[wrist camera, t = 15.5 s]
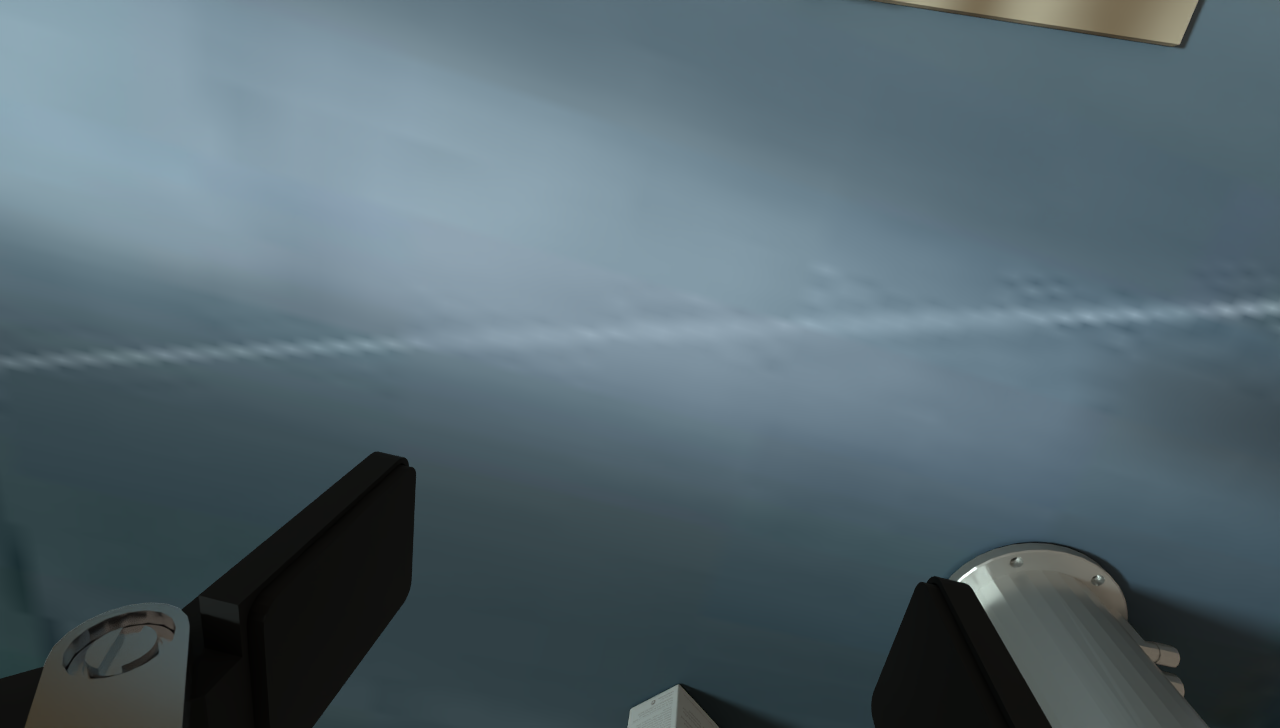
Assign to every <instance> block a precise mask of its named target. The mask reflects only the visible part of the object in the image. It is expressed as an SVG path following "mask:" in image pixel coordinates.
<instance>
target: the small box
mask: <svg viewBox="0 0 1280 728" xmlns="http://www.w3.org/2000/svg"><path fill="white" fill-rule="evenodd" d="M628 728H719V727H718V726H717V724H716V723H715V722H714V721H713V720H712V719H711V718H710V717H709V716H708V715H707V714H706V712H705V711H704V710H703V709H702V708H701V707H700V706H699V705H698V704H697V703H696V702H695V701H694V699H693V698H692V697H691V696H690V695H689V694H688V693H687V692H686V691H685V690H684V689H683V688H682V687H681V685H680V684H678V685H676V686H674V687H672V688H670V689H668V690H666V691H664V692H662V693H660V694H658V695H657V696H655V697H653V698H651V699H649V700H647V701H645V702H643V703H641V704H639V705H637V706H635V707H633V708H631V710H630V716H629V722H628Z"/></svg>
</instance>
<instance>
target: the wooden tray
mask: <svg viewBox="0 0 1280 728" xmlns="http://www.w3.org/2000/svg"><path fill="white" fill-rule="evenodd" d="M871 1H878V2H884V3H891V4H897V5H904V6H910V7H917V8H923V9H930V10H936V11H943V12H949V13H956V14H962V15H969V16H976V17H982V18H989V19H995V20H1002V21H1008V22H1015V23H1021V24H1028V25H1034V26H1041V27H1047V28H1054V29H1060V30H1067V31H1073V32H1080V33H1086V34H1093V35H1099V36H1106V37H1112V38H1119V39H1125V40H1132V41H1138V42H1145V43H1151V44H1158V45H1164V46H1171V47H1172V46H1176V45H1180V43H1181V40H1182V38H1183V36H1184V33H1185V31H1186V28H1187V26H1188V24H1189V21H1190V19H1191V17H1192V14H1193V12H1194V10H1195V7H1196V5H1197V3H1198V0H871Z"/></svg>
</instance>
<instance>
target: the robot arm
mask: <svg viewBox="0 0 1280 728" xmlns="http://www.w3.org/2000/svg"><path fill="white" fill-rule="evenodd" d="M415 485H416V471H415V469H414V468H413V467H409V463H408V461H407V459H406V458H404V457H400V456H395V455H391V454H386V453H382V452H374V453H372V454H370V455H369V456H368V457H367V458H366V459H364V460H363V461H362V462H361V463H359V464H358V465H357V466H356V467H355V468H353V469H352V470H351V471H350V472H348V473H347V474H346V475H345V476H344V477H342V478H341V479H340V480H339V481H337V482H336V483H335V484H334V485H333V486H331V487H330V488H329V489H328V490H327V491H325V492H324V493H323V494H322V495H320V496H319V497H318V498H317V499H316V500H314V501H313V502H312V503H311V504H309V505H308V506H307V507H306V508H305V509H303V510H302V511H301V512H300V513H298V514H297V515H296V516H295V517H294V518H292V519H291V520H290V521H289V522H288V523H286V524H285V525H284V526H283V527H281V528H280V529H279V530H278V531H277V532H275V533H274V534H273V535H272V536H270V537H269V538H268V539H267V540H266V541H264V542H263V543H262V544H261V545H259V546H258V547H257V548H256V549H255V550H253V551H252V552H251V553H250V554H249V555H247V556H246V557H245V558H244V559H242V560H241V561H240V562H239V563H238V564H236V565H235V566H234V567H233V568H231V569H230V570H229V571H228V572H227V573H225V574H224V575H223V576H222V577H220V578H219V579H218V580H217V581H216V582H214V583H213V584H212V585H211V586H210V587H208V588H207V589H206V590H205V591H203V592H202V593H201V594H200V595H199V596H198V597H196V598H195V599H194V600H193V601H192V602H190V603H189V604H188V605H187V606H185V607H184V608H183V609H182V610H181V609H180V608H177V607H174V606H171V605H169V604H163V603H142V604H134V605H128V606H124V607H121V608H117V609H114V610H110V611H107V612H105V613H103V614H100V615H98V616H96V617H94V618H92V619H89V620H87V621H85V622H84V623H82V624H81V625H79V626H78V627H76V628H75V629H73V630H72V631H70V632H68V633H67V634H66V635H65V636H64V637H63V638H62V639H61V640H60V641H59V642H58V643H57V644H56V645H55V646H54V647H53V649H52V651H51V652H50V654H49V656H48V658H47V659H46V662H45V665H44V667H41V668H37V669H34V670H30V671H26V672H23V673H19V674H16V675H12V676H9V677H5V678H2V679H0V728H312V727H313V726H314V725H315V723H316V722H317V721H318V719H319V718H320V716H321V715H322V714H323V712H324V711H325V710H326V708H327V707H328V705H329V704H330V703H331V701H332V700H333V699H334V697H335V696H336V695H337V693H338V692H339V690H340V689H341V688H342V686H343V685H344V684H345V682H346V681H347V680H348V678H349V677H350V675H351V674H352V673H353V671H354V670H355V669H356V667H357V666H358V665H359V663H360V662H361V660H362V659H363V658H364V656H365V655H366V654H367V652H368V651H369V650H370V648H371V647H372V645H373V644H374V643H375V641H376V640H377V639H378V637H379V636H380V635H381V633H382V632H383V630H384V629H385V628H386V626H387V625H388V624H389V622H390V621H391V620H392V618H393V617H394V615H395V614H396V613H397V611H398V610H399V609H400V607H401V606H402V605H403V603H404V601H405V600H406V598H407V596H408V593H409V590H410V587H411V580H412V556H413V533H414V509H415ZM1127 620H1128V610H1127V604H1126V600H1125V597H1124V595H1123V593H1122V591H1121V589H1120V587H1119V586H1118V584H1117V583H1116V582H1115V581H1114V579H1113V578H1112V577H1111V576H1110V575H1109V574H1108V573H1107V572H1106V571H1105V570H1104V569H1103V568H1102V567H1101V566H1100V565H1099V564H1098V563H1097V562H1095V561H1094V560H1092V559H1091V558H1089V557H1088V556H1086V555H1084V554H1082V553H1080V552H1077V551H1075V550H1072V549H1070V548H1067V547H1062V546H1058V545H1053V544H1044V543H1024V544H1013V545H1009V546H1005V547H1001V548H997V549H994V550H991V551H989V552H986V553H984V554H981V555H979V556H977V557H975V558H974V559H972V560H971V561H969V562H967V563H966V564H964V565H963V566H962V567H961V568H959V569H958V570H957V571H956V572H955V573H954V574H953V575H952V576H951V577H950V578H949V579H945V578H940V577H936V576H934V577H931V578H930V579H929V580H928V581H927V583H924V582H920V583H919V584H918V585H917V586H916V588H915V590H914V593H913V595H912V598H911V600H910V603H909V605H908V608H907V610H906V613H905V615H904V618H903V620H902V623H901V625H900V628H899V630H898V633H897V635H896V638H895V640H894V642H893V645H892V647H891V650H890V652H889V655H888V657H887V660H886V662H885V665H884V667H883V670H882V672H881V675H880V677H879V680H878V682H877V685H876V687H875V690H874V692H873V696H872V704H871V709H872V717H873V721H874V725H875V728H1209V727H1208V725H1207V724H1206V723H1205V722H1204V721H1203V720H1202V718H1201V717H1200V716H1199V715H1198V714H1197V712H1196V711H1195V710H1194V709H1193V708H1192V707H1191V705H1190V704H1189V703H1188V702H1187V701H1186V700H1185V698H1184V693H1185V691H1184V686H1183V683H1182V682H1181V680H1180V678H1179V677H1177V676H1176V675H1175V674H1173V673H1168V672H1164V671H1161V670H1160V669H1159V668H1158V667H1157V666H1156V664H1160V665H1164V666H1168V667H1176V666H1177V665H1179V662H1180V656H1179V653H1178V651H1177V649H1176V648H1174V647H1173V646H1170V645H1166V644H1161V643H1157V642H1148V641H1144V640H1143V639H1142V638H1141V636H1140V635H1139V634H1138V633H1137V632H1136V631H1135V630H1134V628H1133V627H1132V626H1131V625H1130V624H1129V623H1128V621H1127Z"/></svg>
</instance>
